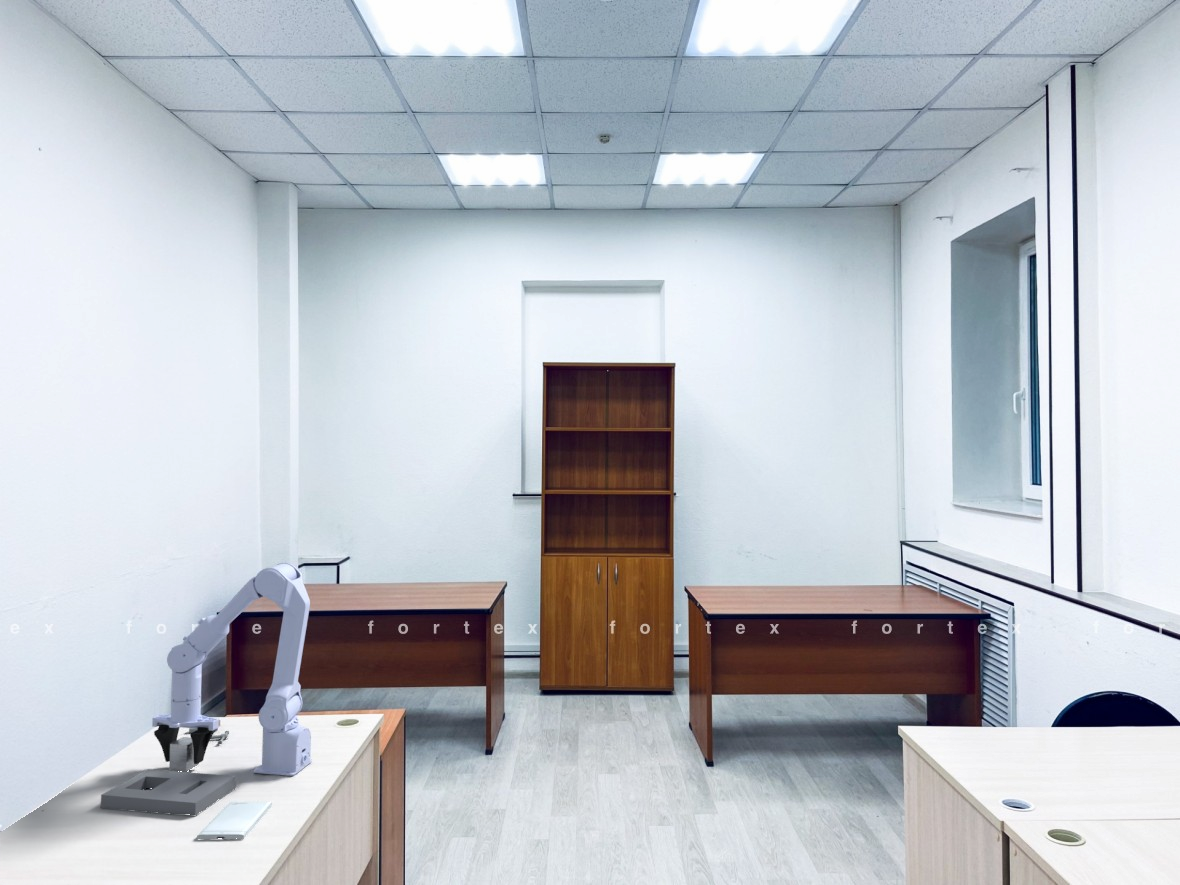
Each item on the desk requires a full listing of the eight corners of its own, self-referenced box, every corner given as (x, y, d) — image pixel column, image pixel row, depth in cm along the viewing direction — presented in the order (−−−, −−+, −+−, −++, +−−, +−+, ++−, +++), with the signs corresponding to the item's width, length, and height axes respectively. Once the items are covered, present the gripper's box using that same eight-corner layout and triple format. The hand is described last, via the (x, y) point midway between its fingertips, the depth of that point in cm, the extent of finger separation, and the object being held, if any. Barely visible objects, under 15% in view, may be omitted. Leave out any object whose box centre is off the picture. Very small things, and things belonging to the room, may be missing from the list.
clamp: (194, 719, 182) (237, 716, 185) (194, 728, 182) (237, 725, 185) (176, 741, 168) (223, 738, 170) (175, 751, 168) (222, 747, 170)
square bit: (198, 765, 159) (199, 738, 159) (186, 773, 155) (186, 745, 155) (182, 764, 159) (183, 736, 160) (169, 772, 155) (170, 743, 156)
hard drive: (229, 801, 140) (196, 833, 127) (272, 801, 140) (244, 833, 128) (229, 810, 140) (196, 843, 127) (272, 809, 140) (243, 843, 128)
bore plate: (235, 788, 148) (235, 776, 148) (195, 816, 136) (195, 802, 136) (147, 781, 151) (148, 769, 151) (100, 808, 139) (101, 794, 139)
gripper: (142, 701, 155) (140, 766, 154) (204, 705, 153) (202, 771, 152) (166, 691, 162) (164, 753, 161) (225, 695, 160) (224, 757, 159)
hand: (184, 761), depth 157 cm, fingers open, 6 cm apart
